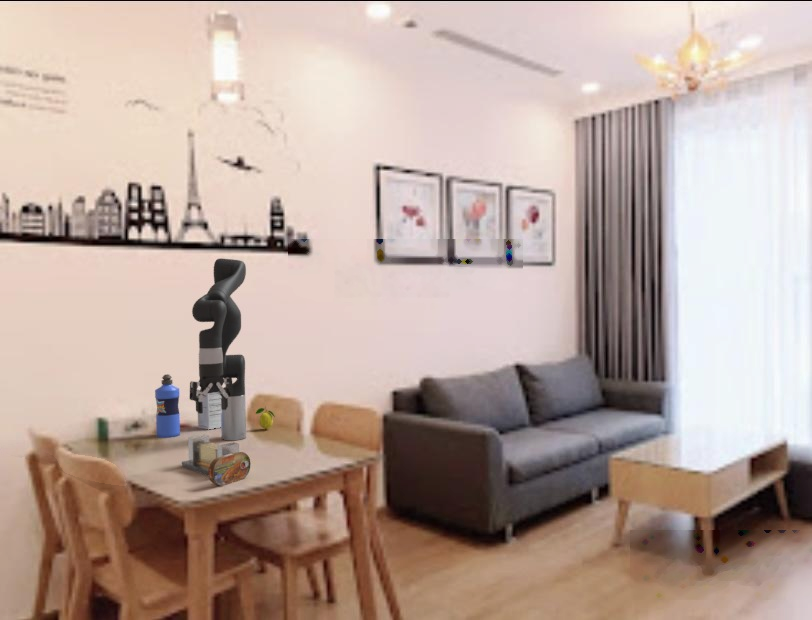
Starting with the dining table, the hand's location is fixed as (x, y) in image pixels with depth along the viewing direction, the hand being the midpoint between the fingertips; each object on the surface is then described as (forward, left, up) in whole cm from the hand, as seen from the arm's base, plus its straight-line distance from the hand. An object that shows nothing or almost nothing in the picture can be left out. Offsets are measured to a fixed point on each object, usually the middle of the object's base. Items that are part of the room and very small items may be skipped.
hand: (212, 411), depth 217 cm
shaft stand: (0, 0, -19) cm, 19 cm away
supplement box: (-66, +36, -19) cm, 78 cm away
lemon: (-43, +48, -19) cm, 67 cm away
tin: (+17, -4, -19) cm, 26 cm away
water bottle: (-64, +15, -19) cm, 68 cm away
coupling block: (0, 0, -17) cm, 17 cm away
